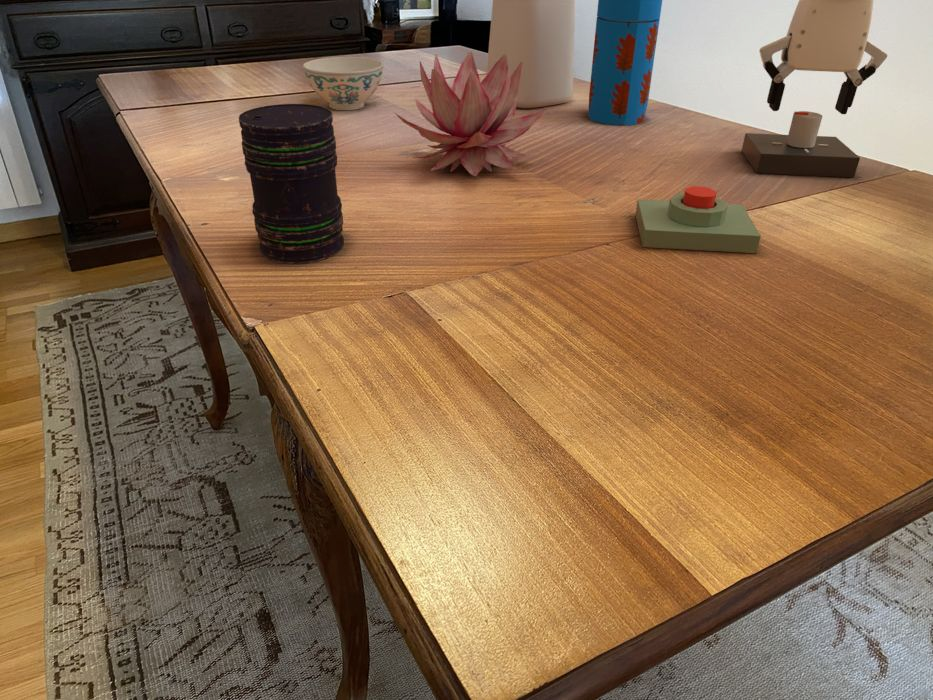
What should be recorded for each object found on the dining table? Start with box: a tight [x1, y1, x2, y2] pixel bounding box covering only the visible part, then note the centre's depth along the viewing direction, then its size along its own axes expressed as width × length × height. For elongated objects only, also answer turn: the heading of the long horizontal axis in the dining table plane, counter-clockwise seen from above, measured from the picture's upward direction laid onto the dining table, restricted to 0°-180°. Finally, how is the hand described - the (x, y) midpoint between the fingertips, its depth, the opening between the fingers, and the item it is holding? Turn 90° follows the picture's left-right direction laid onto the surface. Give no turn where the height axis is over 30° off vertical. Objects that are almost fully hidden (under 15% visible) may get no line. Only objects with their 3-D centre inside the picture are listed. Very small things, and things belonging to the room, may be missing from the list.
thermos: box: [587, 0, 663, 126], centre depth 125 cm, size 11×11×25 cm
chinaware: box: [302, 56, 384, 111], centre depth 136 cm, size 15×15×8 cm
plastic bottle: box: [485, 0, 576, 109], centre depth 136 cm, size 15×15×28 cm
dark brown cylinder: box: [238, 103, 345, 265], centre depth 78 cm, size 10×10×15 cm
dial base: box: [741, 132, 861, 178], centre depth 109 cm, size 14×11×3 cm
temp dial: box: [786, 110, 823, 148], centre depth 107 cm, size 4×4×5 cm
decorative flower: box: [394, 51, 547, 177], centre depth 103 cm, size 21×21×15 cm
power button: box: [683, 185, 717, 209], centre depth 84 cm, size 4×4×2 cm
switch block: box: [635, 192, 762, 254], centre depth 85 cm, size 13×10×4 cm
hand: (806, 110), depth 105 cm, fingers open, 9 cm apart
